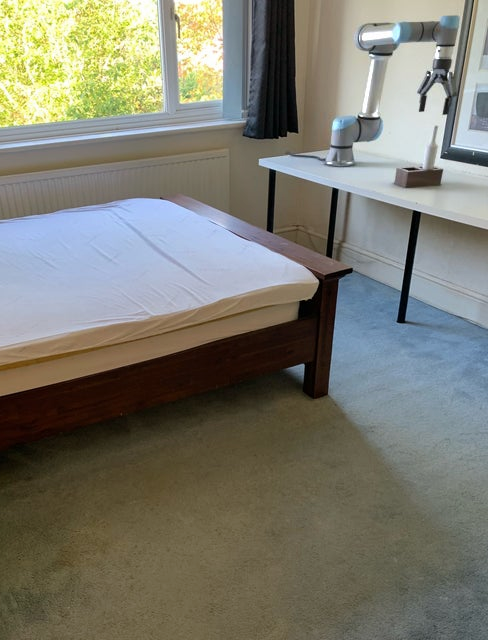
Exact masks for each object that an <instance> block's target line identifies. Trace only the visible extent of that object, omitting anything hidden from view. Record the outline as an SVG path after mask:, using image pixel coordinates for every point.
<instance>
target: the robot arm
mask: <svg viewBox="0 0 488 640" xmlns="http://www.w3.org/2000/svg"><path fill="white" fill-rule="evenodd" d="M460 19H461V18H460V16H459V15H457V14H453V15H442V16H441V17H440V20H439V21H438V20H435V21H434V20H429V21H401V22H397V23H395V22H388V21H387V22H368V23H364V24H361V25H360V26H359V27H358V28H357V29H356V30H355V32H354V35H353V44H354V46H355V47H356V48H357V49H358V50H360V51H362V52H368V56H369V58H370V61H369V65H368V72H367V77H366V84H365V89H364V93H363V100H362V106H361V110H360V111H359V112H357V116H355V115H342V116H338V117H336V118H335V119H334V120H333V121H332V127H331V137H330V146H329V151H328V153H327V156H326V157H324V158H323V157H322V158H321V157H319V156H317V155H310V154H309V155H308V154H293V153H291V152H290V151H288V150H287V151H286V152H285V153H284V154H285V155H289V157H299V158H300V157H301V158H313V159H318V160H319V161H324V162H325V163H324V164H325V165H326V166H330V167H336V168H337V167H339V168H341V167H343V168H344V167H351V166H354V165H355V156H354V151H353V147H354V143H365V142H366V143H369V142H373V141H376V140H377V139H379V137H380V136H381V134H382V132H383V129H384V124H383V123H384V120H383V119H382V117H381V116H382V115H381V113H380V112H379V109H380V105H381V99H382V95H383V90H384V85H385V79H386V74H387V69H388V63H389V60H390V59H391V57H393V55H394V51H396V50H398V48H399V46H400V45H401V44H407V43H435V44H436V45H435V50H434V55H433V56H434V59H433V61H432V66H431V67H432V70H431V69H430V70H426V72H425V76H424V77H423V79H422V81H421V84H420V86H419V87H418V90H417V91H416V93H417V94H418V95H419V96H420V97H419V102H418V103H419V107H418V113H422V112H425V108H426V104H427V98H428V95H427V94H428V92H429V91H430V90H431V88H432V87H433V86H434V85H435V84H441V85H442V87H443V90H444V92H445V95H446V98H444V104H443V108H442V109H443V110H442V114H441V115H442V116H446V115H449V111H450V107H451V106H452V102H453V98H455V97H457V96H458V90H457V83H456V72H455V71H450V69H451V68H452V63H453V59H452V58H453V57H454V54H455V47H456V41H457V37H458V34H459V33H458V31H459V28H460Z"/></svg>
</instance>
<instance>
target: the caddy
mask: <svg viewBox="0 0 488 640" xmlns="http://www.w3.org/2000/svg"><path fill="white" fill-rule="evenodd" d="M422 167H423V165H415V166H403V167H402V166H401V167H396V171H395V176H394V184H395V185H398V186H400V187H402V188H405V189H407V188H409V189H410V188H419V187H420V188H421V187H432V186H440V185H441V184H442V179H443V173H444V168H441V167H439V166H435V165H434V168H433V169H430V170H424V169H422Z"/></svg>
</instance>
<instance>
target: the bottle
mask: <svg viewBox="0 0 488 640" xmlns="http://www.w3.org/2000/svg"><path fill="white" fill-rule="evenodd" d="M438 130H439V125H433V126H432V132H431V137H430V141H429V143H427V144H426V145H425V149H424V155H423V163H422V166H423V167H422V169H424V170H430V169H433V168H434V166H435V163H436V157H437V153H438V148H439V146H438V144H437V141H436V139H437V135H438Z"/></svg>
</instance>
